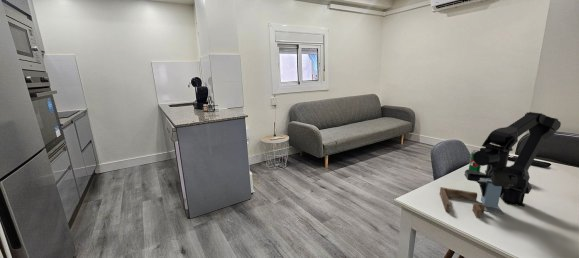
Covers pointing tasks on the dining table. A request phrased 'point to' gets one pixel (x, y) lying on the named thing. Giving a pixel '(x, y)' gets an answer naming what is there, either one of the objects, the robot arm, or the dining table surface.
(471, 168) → the soda can
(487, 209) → the grey mat
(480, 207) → the brown angular open frame
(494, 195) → the slate block
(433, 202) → the dining table surface
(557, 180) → the dining table surface
